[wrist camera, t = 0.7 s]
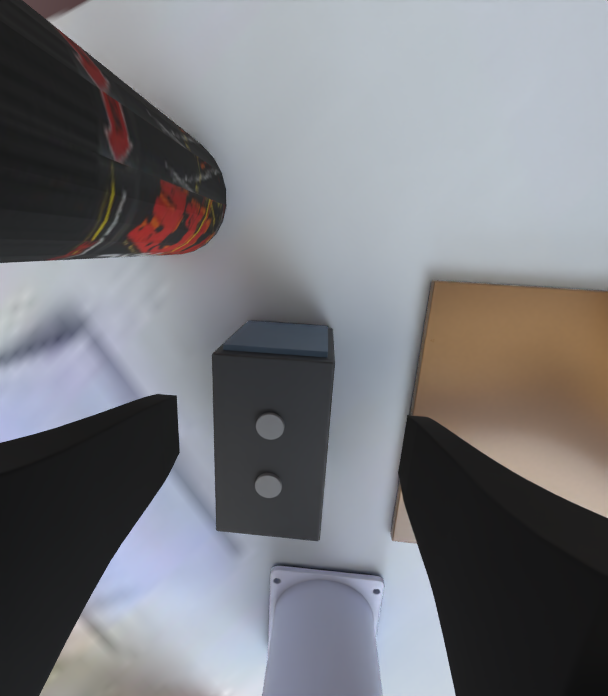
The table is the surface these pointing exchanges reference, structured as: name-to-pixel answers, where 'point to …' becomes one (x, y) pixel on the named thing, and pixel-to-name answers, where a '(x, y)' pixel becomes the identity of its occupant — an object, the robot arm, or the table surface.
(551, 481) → the cork mat
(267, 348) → the speaker
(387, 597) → the table surface
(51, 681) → the table surface
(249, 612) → the table surface
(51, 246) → the deodorant
